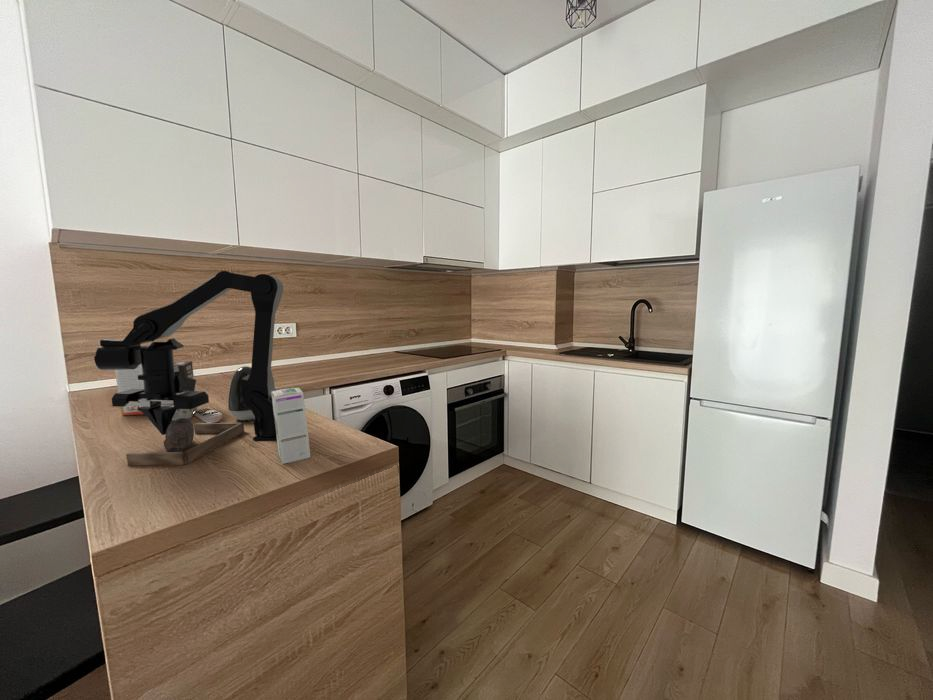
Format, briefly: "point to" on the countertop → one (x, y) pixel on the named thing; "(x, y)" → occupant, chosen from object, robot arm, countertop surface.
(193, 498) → the countertop surface
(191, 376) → the coffee box
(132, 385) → the cracker box
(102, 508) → the countertop surface
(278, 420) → the syrup box
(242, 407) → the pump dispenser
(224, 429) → the walnut frame
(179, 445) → the perforated stone tool
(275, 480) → the countertop surface
